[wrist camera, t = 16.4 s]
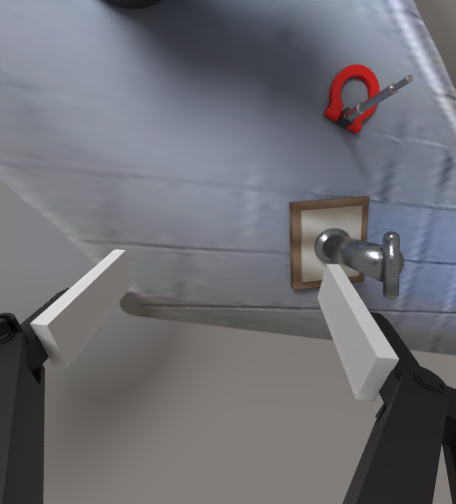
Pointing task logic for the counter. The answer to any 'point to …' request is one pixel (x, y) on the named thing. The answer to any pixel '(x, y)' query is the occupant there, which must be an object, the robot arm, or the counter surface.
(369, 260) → the metal mooring bollard
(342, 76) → the tow hook
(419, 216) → the counter surface
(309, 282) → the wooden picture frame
